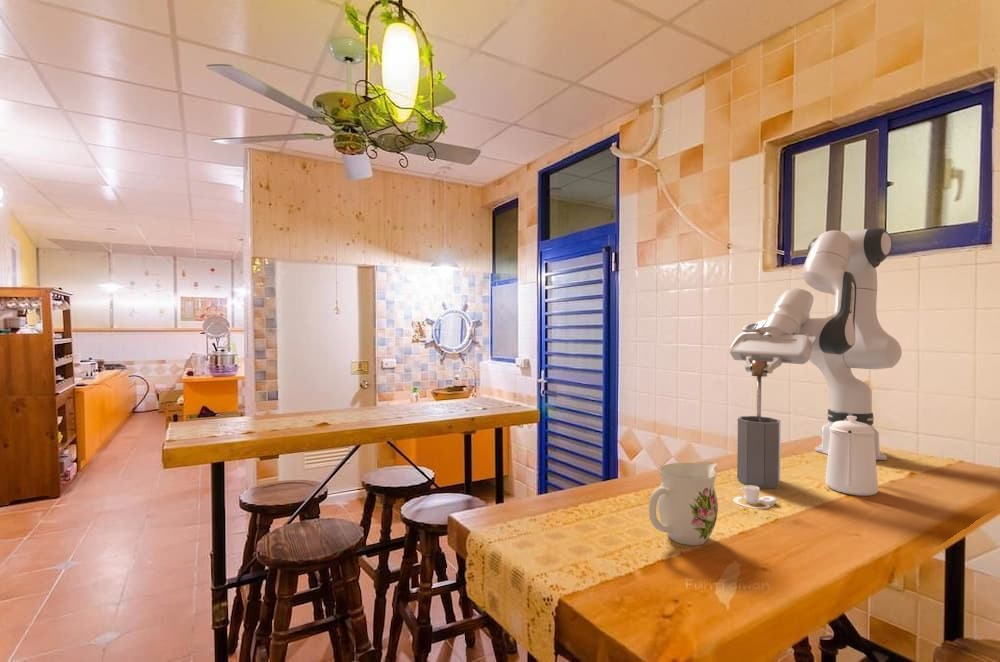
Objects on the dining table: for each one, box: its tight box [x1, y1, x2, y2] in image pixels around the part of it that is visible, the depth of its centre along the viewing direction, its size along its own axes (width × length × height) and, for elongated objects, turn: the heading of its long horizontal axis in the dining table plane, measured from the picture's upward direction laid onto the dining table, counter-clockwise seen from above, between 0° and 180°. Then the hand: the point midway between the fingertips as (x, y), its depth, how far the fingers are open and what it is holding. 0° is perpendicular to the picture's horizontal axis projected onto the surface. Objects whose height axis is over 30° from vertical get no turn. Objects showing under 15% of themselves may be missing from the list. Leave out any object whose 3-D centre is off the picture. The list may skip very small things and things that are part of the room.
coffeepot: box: [824, 416, 879, 497], centre depth 124 cm, size 11×25×19 cm, turn 143°
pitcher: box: [648, 461, 719, 546], centre depth 96 cm, size 11×18×14 cm, turn 119°
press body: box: [736, 415, 782, 490], centre depth 131 cm, size 13×10×17 cm
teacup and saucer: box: [732, 485, 777, 510], centre depth 115 cm, size 9×8×4 cm
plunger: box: [751, 360, 768, 422], centre depth 130 cm, size 7×7×24 cm
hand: (757, 371), depth 129 cm, fingers closed on plunger, 4 cm apart
